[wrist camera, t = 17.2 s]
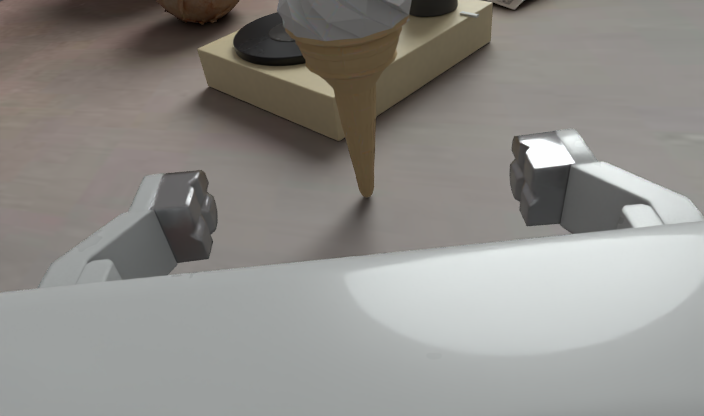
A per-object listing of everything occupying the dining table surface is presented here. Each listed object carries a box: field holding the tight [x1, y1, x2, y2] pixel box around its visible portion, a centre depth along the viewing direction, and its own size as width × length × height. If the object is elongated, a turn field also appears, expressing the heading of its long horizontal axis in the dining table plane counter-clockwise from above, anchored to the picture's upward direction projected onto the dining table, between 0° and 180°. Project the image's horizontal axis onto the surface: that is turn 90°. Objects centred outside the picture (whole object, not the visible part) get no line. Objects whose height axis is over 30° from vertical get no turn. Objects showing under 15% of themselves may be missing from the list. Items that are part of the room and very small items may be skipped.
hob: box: [197, 0, 493, 141], centre depth 41 cm, size 18×15×3 cm
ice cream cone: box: [277, 0, 412, 197], centre depth 24 cm, size 6×6×15 cm
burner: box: [233, 12, 306, 66], centre depth 38 cm, size 9×9×1 cm
